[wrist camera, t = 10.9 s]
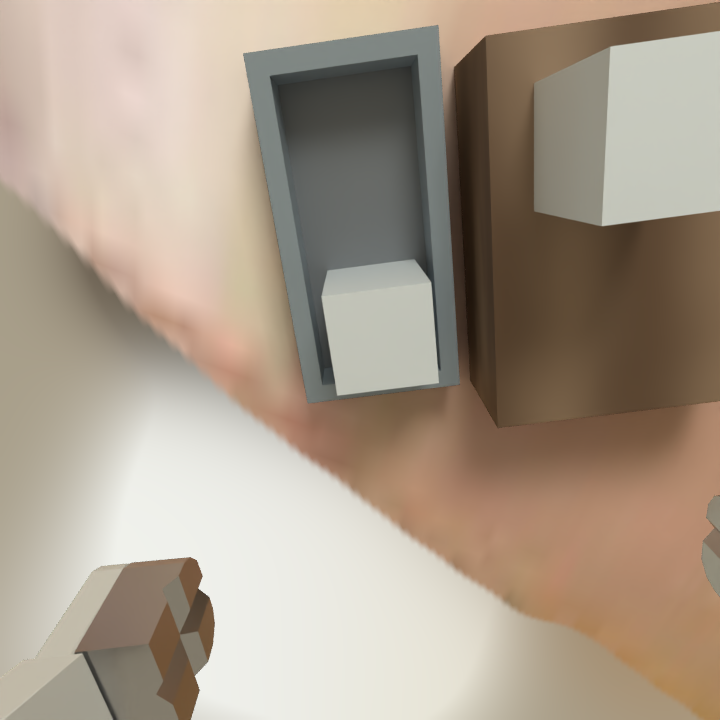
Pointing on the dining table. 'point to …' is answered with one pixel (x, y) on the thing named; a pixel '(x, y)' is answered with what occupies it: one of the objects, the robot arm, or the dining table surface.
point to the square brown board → (575, 252)
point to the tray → (356, 177)
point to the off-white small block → (380, 327)
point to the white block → (631, 133)
